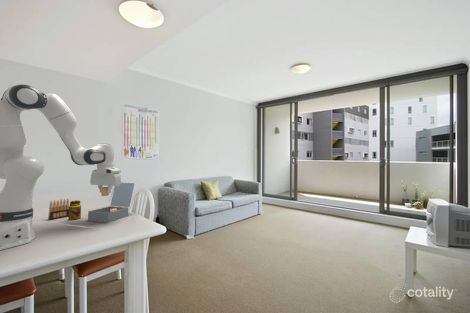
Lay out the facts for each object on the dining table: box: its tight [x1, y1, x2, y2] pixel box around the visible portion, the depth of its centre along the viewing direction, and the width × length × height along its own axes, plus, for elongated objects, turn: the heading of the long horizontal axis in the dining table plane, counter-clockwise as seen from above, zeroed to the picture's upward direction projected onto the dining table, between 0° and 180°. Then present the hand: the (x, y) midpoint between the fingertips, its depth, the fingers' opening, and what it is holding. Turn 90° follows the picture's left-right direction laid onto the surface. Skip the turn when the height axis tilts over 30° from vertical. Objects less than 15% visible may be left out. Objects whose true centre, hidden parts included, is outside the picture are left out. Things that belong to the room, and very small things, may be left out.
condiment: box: [67, 200, 82, 221], centre depth 133 cm, size 7×8×12 cm
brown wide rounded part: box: [100, 186, 110, 197], centre depth 131 cm, size 4×4×5 cm
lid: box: [109, 182, 135, 208], centre depth 147 cm, size 16×15×2 cm
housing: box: [87, 205, 129, 224], centre depth 136 cm, size 16×15×6 cm
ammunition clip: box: [47, 198, 70, 221], centre depth 137 cm, size 11×2×12 cm, turn 151°
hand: (105, 192), depth 131 cm, fingers closed on brown wide rounded part, 4 cm apart
